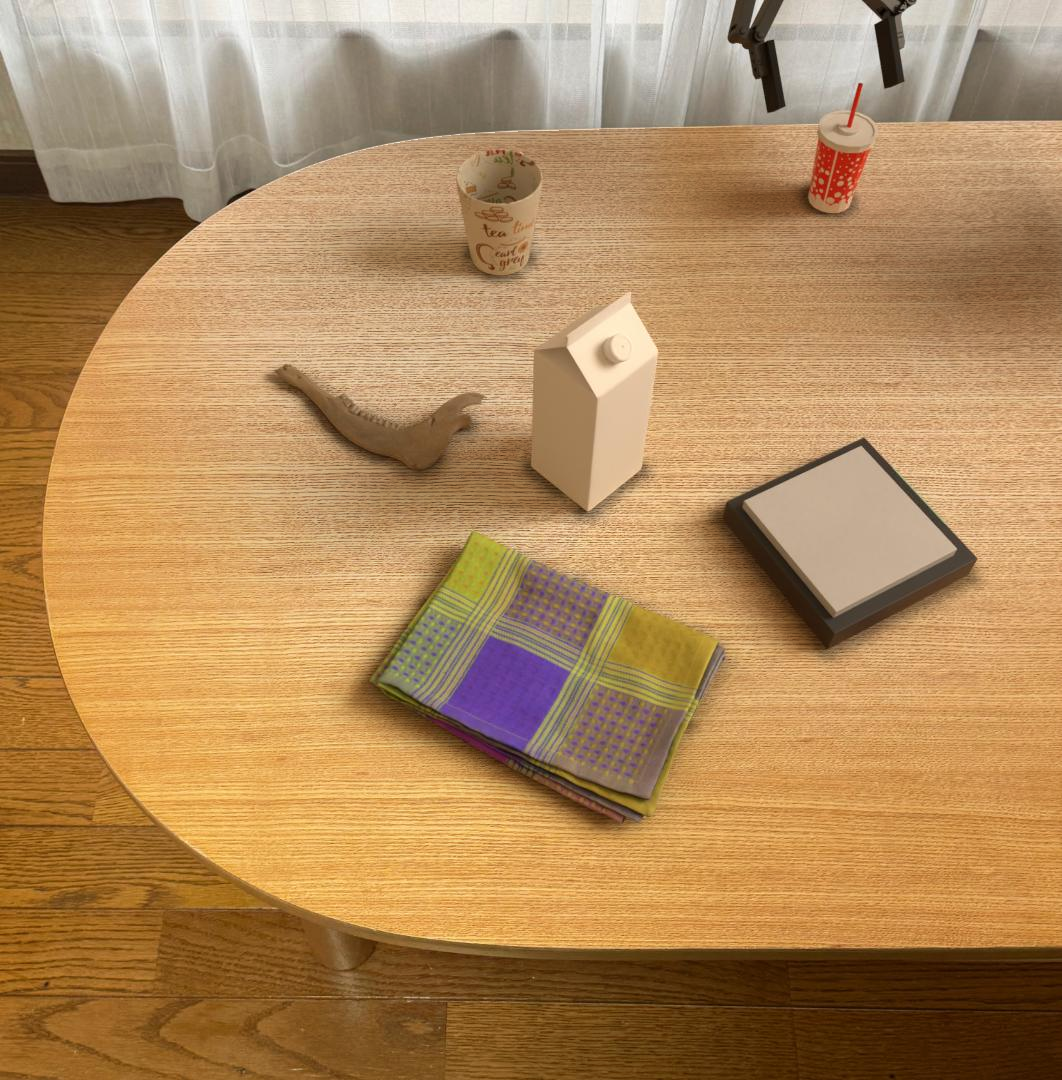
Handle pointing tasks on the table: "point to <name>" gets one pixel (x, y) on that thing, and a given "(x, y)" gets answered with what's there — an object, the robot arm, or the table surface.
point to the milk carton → (593, 402)
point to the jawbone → (388, 423)
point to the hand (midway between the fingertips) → (836, 97)
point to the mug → (499, 208)
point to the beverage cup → (840, 157)
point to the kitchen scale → (847, 541)
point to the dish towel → (553, 677)
